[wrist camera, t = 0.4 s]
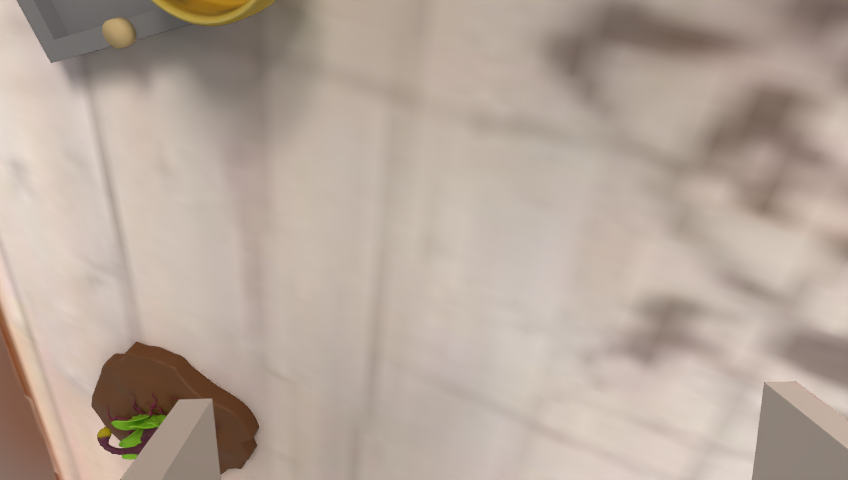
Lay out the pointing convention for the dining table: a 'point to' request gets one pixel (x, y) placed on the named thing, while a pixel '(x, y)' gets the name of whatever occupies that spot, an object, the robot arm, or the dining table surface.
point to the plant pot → (212, 10)
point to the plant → (165, 403)
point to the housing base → (94, 24)
